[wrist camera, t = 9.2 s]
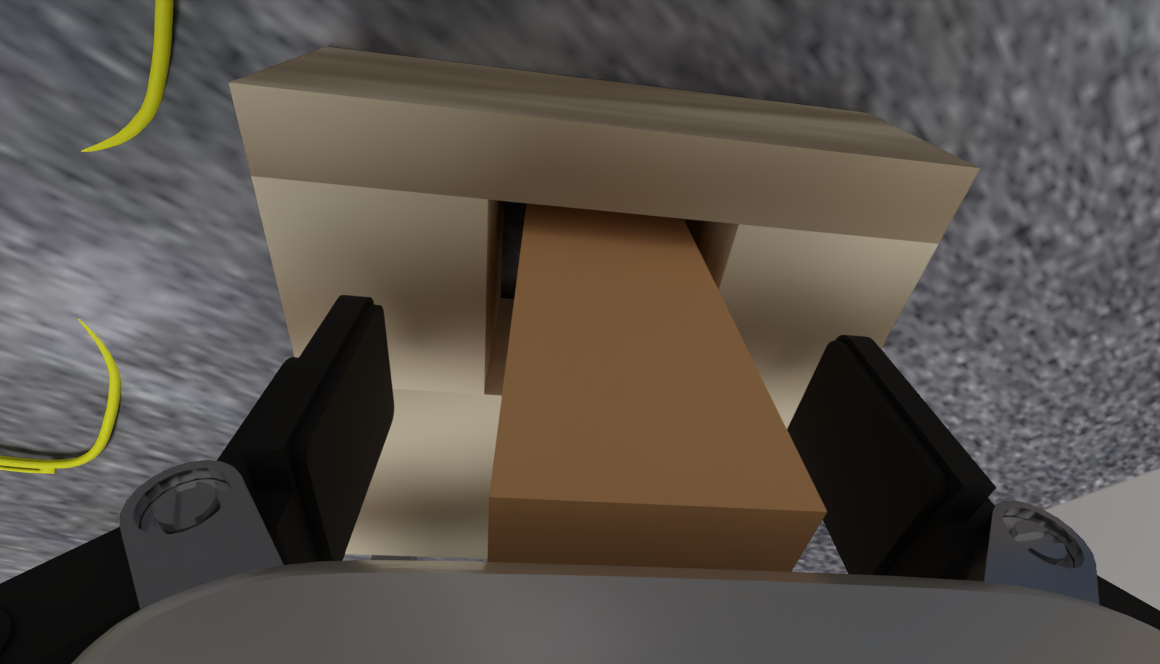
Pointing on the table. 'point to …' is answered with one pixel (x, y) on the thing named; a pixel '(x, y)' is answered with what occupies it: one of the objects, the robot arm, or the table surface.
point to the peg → (636, 410)
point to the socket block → (567, 179)
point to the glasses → (49, 466)
